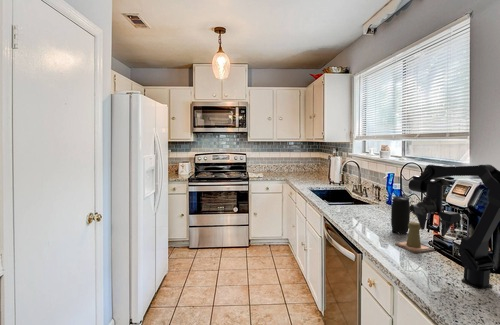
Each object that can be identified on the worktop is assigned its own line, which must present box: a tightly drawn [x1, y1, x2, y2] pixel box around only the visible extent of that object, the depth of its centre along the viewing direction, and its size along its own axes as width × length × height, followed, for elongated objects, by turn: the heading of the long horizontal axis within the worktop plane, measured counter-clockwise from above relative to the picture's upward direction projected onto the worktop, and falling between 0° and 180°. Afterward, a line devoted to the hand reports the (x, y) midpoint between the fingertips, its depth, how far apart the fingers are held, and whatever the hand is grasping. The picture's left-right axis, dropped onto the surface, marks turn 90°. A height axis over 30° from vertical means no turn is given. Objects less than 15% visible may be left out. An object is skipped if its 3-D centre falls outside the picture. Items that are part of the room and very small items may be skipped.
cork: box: [406, 221, 421, 248], centre depth 138 cm, size 6×6×11 cm
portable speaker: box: [390, 195, 411, 235], centre depth 160 cm, size 9×9×20 cm
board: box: [394, 238, 435, 255], centre depth 140 cm, size 12×20×1 cm, turn 108°
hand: (432, 232), depth 120 cm, fingers open, 9 cm apart
